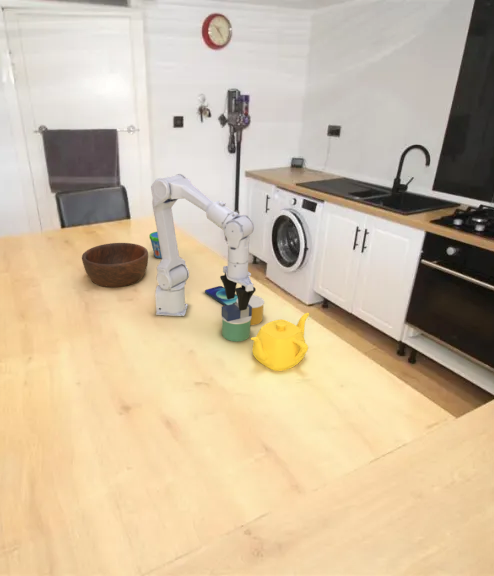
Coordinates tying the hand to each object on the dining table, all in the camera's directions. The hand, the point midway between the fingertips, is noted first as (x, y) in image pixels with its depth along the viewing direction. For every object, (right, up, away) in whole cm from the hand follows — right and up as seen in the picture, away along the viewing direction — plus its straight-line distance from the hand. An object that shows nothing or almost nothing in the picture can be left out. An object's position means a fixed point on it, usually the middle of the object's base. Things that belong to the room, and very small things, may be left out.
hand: (236, 303), depth 119 cm
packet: (0, -4, +2) cm, 4 cm away
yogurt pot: (0, -9, +4) cm, 10 cm away
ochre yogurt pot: (+5, -5, +13) cm, 15 cm away
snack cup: (-29, +19, +64) cm, 73 cm away
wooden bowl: (-44, +9, +43) cm, 62 cm away
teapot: (+12, -15, -8) cm, 21 cm away
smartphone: (-3, +1, +26) cm, 26 cm away
